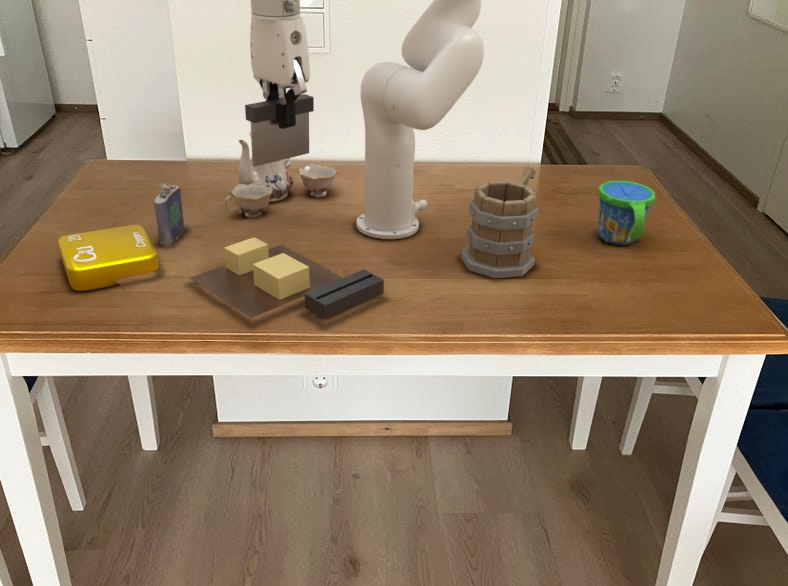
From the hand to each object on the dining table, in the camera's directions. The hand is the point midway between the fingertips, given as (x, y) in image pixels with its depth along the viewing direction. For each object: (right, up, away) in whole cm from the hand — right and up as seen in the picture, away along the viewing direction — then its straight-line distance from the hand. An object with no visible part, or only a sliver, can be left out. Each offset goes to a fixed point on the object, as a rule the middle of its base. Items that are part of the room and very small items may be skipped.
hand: (281, 123), depth 130 cm
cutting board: (-3, -27, +5) cm, 27 cm away
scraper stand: (+11, -31, 0) cm, 33 cm away
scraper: (0, -5, +3) cm, 6 cm away
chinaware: (-6, -5, +38) cm, 38 cm away
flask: (-24, -16, +21) cm, 35 cm away
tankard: (+40, -20, +18) cm, 48 cm away
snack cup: (+64, -15, +25) cm, 70 cm away
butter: (0, -27, +2) cm, 27 cm away
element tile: (-32, -23, +9) cm, 40 cm away
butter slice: (-7, -23, +8) cm, 25 cm away
